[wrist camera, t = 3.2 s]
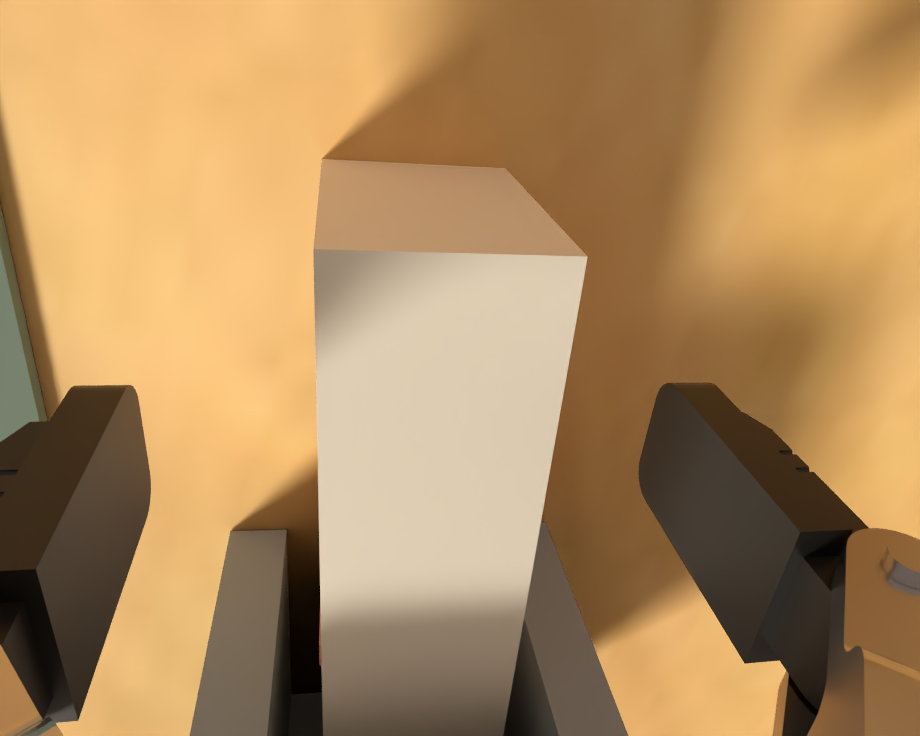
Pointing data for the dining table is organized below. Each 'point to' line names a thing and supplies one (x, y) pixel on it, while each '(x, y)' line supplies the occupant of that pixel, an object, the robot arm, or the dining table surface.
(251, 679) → the dispenser sleeve
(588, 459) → the dining table surface
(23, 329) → the rubber mat
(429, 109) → the dining table surface
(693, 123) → the dining table surface
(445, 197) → the tall cream rectangular prism
